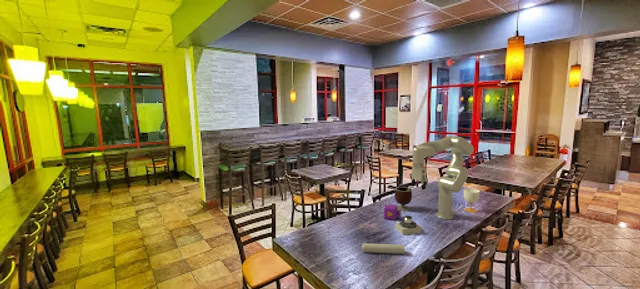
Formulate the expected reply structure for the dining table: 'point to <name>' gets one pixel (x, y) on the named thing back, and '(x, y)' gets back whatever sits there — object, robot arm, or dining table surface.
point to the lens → (408, 220)
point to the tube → (383, 248)
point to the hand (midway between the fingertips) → (418, 187)
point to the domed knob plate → (408, 228)
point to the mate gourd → (403, 197)
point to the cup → (471, 198)
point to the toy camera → (391, 212)
